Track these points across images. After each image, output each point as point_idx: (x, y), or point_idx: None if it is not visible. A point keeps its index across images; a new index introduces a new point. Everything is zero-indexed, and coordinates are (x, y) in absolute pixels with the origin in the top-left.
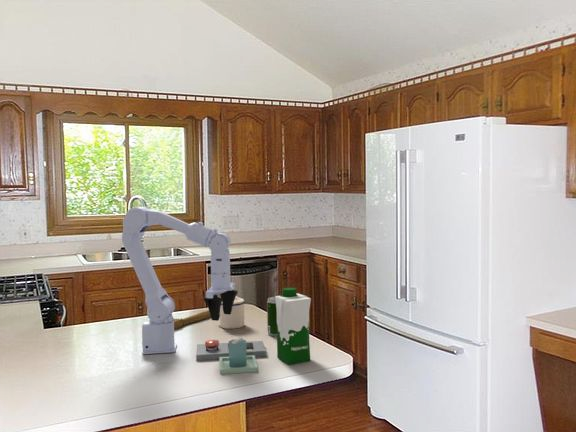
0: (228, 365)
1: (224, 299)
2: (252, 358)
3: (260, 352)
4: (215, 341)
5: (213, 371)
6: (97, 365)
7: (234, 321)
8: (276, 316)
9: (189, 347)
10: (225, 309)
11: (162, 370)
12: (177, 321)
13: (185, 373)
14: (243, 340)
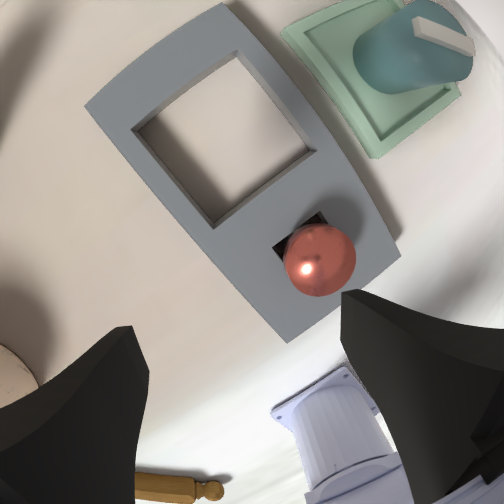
0: (406, 92)
1: (119, 472)
2: (319, 24)
3: (238, 21)
4: (312, 250)
5: (445, 127)
6: None
7: (4, 370)
8: None
9: (271, 368)
10: (136, 388)
11: (469, 277)
12: (139, 489)
13: (475, 202)
14: (415, 14)
